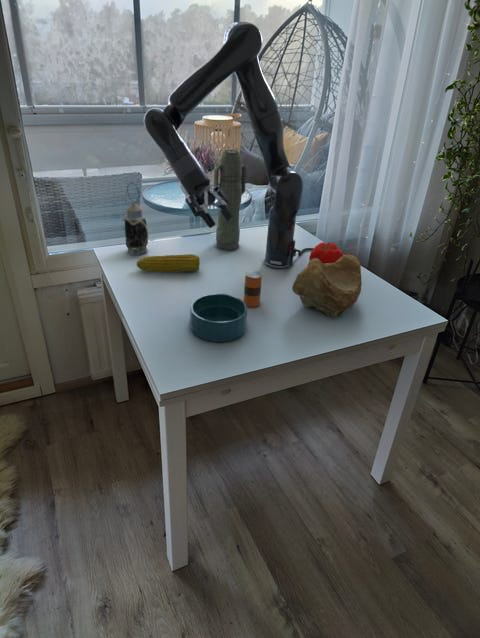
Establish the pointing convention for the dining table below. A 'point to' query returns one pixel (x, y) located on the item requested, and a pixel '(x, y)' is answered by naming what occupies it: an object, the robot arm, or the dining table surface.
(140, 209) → the lantern
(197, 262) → the food
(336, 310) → the rough brown rock
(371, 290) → the dining table surface
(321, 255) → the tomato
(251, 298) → the tube
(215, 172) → the thermos
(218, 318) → the bowl
